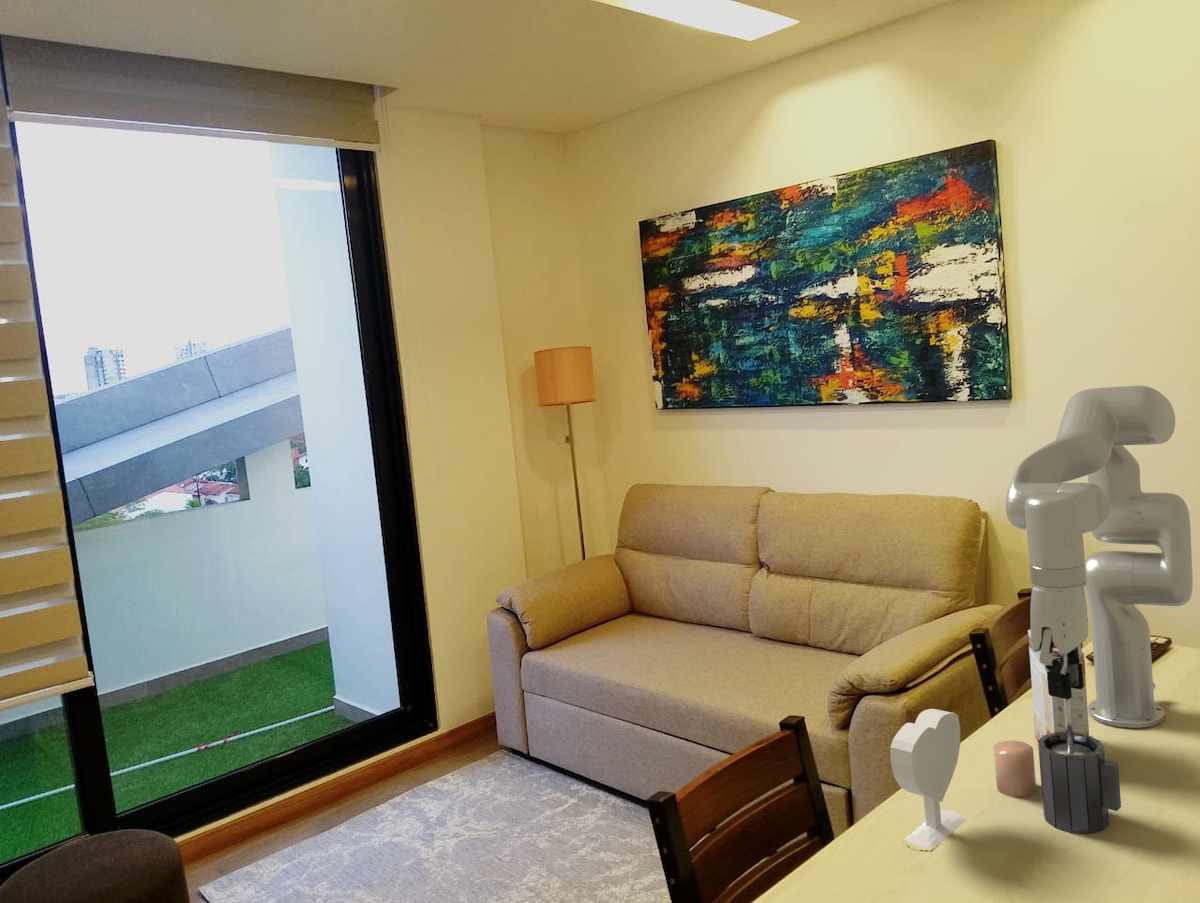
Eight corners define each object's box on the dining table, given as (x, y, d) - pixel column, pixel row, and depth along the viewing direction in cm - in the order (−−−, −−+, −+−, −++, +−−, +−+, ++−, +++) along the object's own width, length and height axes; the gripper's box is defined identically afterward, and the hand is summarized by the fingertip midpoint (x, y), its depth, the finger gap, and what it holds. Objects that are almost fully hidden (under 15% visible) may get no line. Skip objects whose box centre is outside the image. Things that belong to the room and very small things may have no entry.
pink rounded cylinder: (1006, 776, 158) (1003, 737, 157) (1042, 786, 153) (1039, 746, 153) (990, 791, 154) (987, 751, 153) (1026, 801, 150) (1023, 760, 149)
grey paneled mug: (1058, 798, 149) (1053, 727, 148) (1131, 818, 141) (1126, 743, 140) (1034, 821, 143) (1028, 748, 142) (1109, 844, 135) (1103, 766, 134)
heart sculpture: (925, 857, 138) (914, 742, 136) (894, 847, 141) (883, 735, 139) (972, 812, 148) (962, 705, 146) (942, 804, 152) (932, 699, 150)
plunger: (1059, 743, 146) (1052, 654, 144) (1099, 752, 141) (1093, 661, 140) (1042, 758, 142) (1035, 666, 140) (1083, 768, 137) (1076, 674, 136)
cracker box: (1094, 771, 156) (1085, 652, 154) (1056, 772, 157) (1046, 654, 155) (1069, 735, 169) (1061, 625, 167) (1034, 737, 171) (1025, 627, 168)
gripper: (1055, 559, 147) (1063, 670, 149) (1007, 586, 136) (1017, 705, 138) (1105, 563, 141) (1113, 678, 143) (1060, 592, 130) (1069, 716, 132)
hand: (1066, 690), depth 141 cm, fingers closed on plunger, 3 cm apart
